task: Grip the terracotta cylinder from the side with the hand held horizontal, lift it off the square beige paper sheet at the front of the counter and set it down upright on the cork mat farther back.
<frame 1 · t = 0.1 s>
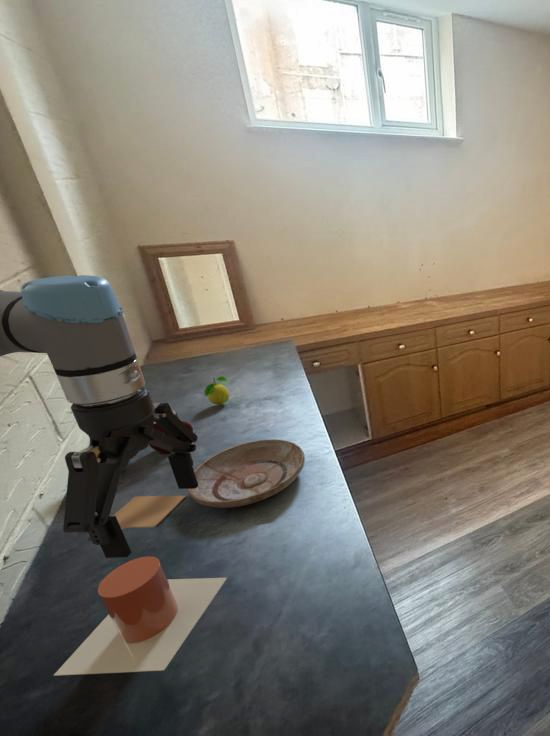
hand: (157, 517, 60), 19 cm above the worktop, tool pointing down, fingers open, 13 cm apart
light bulb: (118, 472, 98), on the worktop
beige paper sheet: (151, 624, 64), on the worktop
mug: (174, 448, 107), on the worktop
ceramic bowl: (253, 484, 95), on the worktop
cork mat: (141, 515, 85), on the worktop
terracotta cylinder: (150, 620, 64), point 1 cm above the worktop, touching beige paper sheet
lemon: (221, 405, 130), on the worktop
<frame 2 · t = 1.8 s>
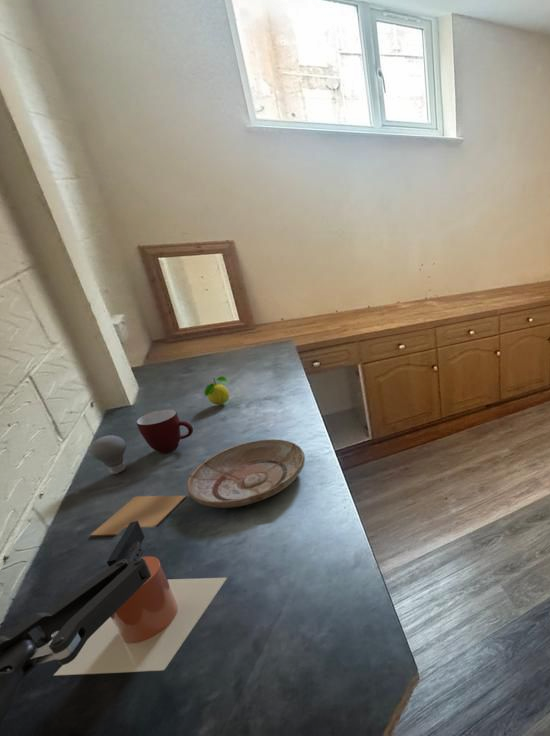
hand: (66, 547, 48), 24 cm above the worktop, tool horizontal, fingers open, 13 cm apart
nothing on the worktop moved.
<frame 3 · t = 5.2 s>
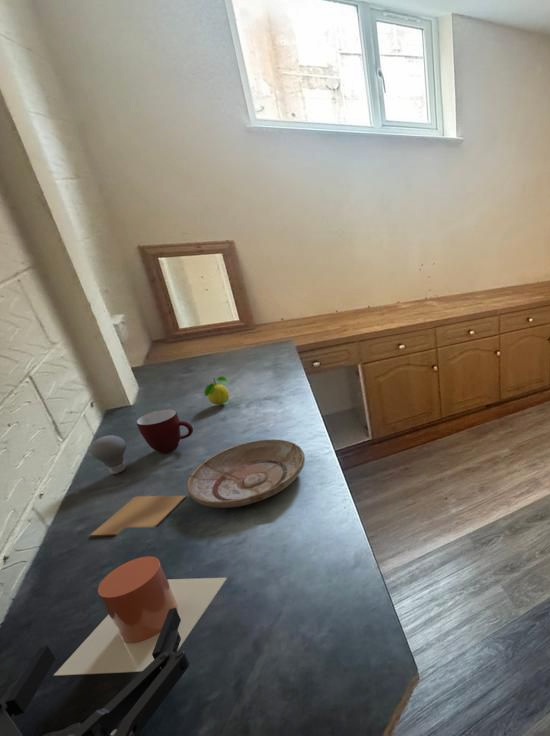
hand: (114, 632, 55), 8 cm above the worktop, tool horizontal, fingers open, 13 cm apart
nothing on the worktop moved.
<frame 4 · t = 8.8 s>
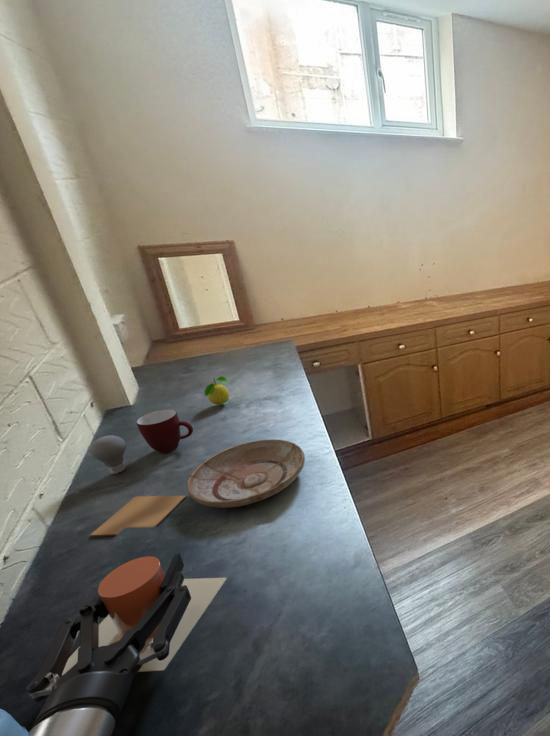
hand: (150, 567, 65), 7 cm above the worktop, tool horizontal, fingers closed on terracotta cylinder, 7 cm apart
terracotta cylinder: (150, 620, 64), point 1 cm above the worktop, touching gripper, beige paper sheet
everything else where it was.
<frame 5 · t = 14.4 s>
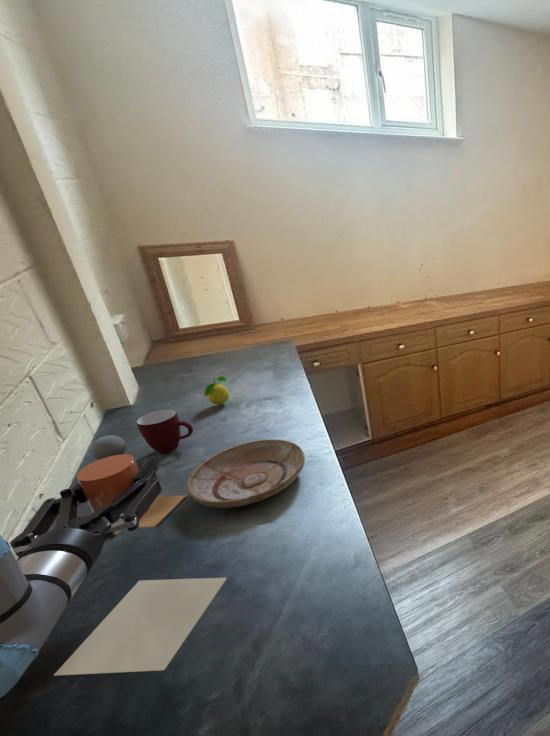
hand: (126, 467, 72), 18 cm above the worktop, tool horizontal, fingers closed on terracotta cylinder, 7 cm apart
terracotta cylinder: (125, 513, 70), point 12 cm above the worktop, touching gripper
everything else where it was.
when the fingers open (7 cm above the worktop, at t = 20.0 s): terracotta cylinder stays where it is, resting on cork mat.
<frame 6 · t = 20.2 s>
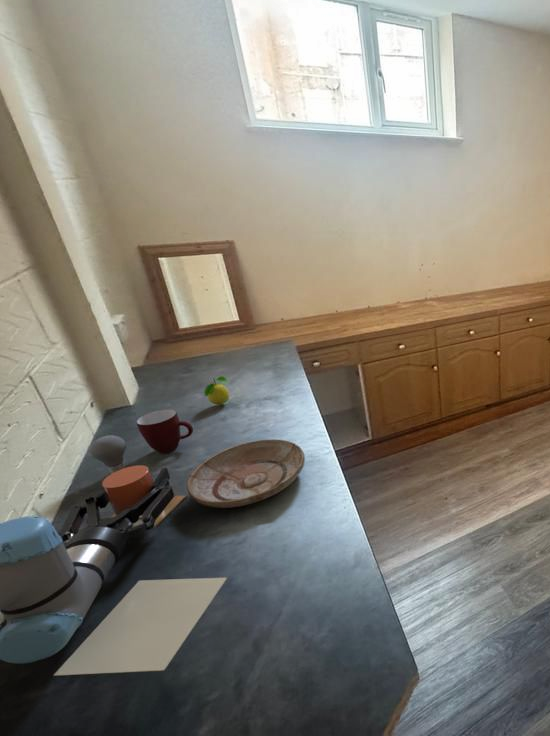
hand: (141, 477, 86), 6 cm above the worktop, tool horizontal, fingers open, 8 cm apart
terracotta cylinder: (141, 514, 85), resting on cork mat
everything else where it was.
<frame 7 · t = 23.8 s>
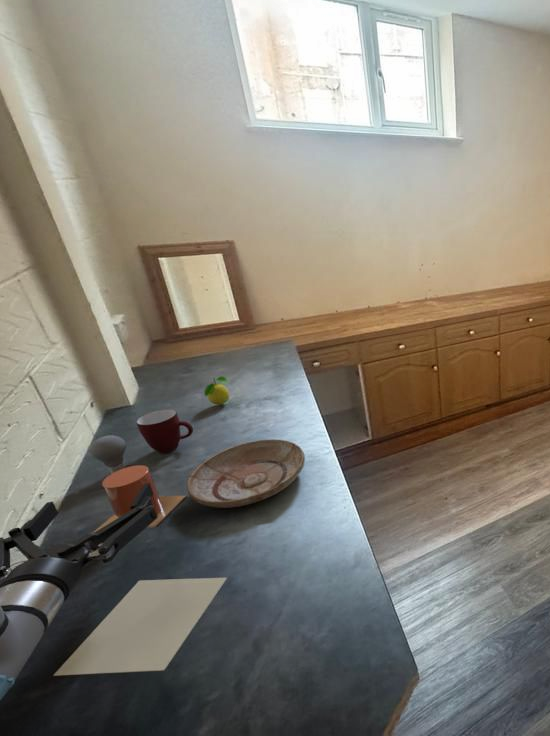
hand: (102, 497, 73), 12 cm above the worktop, tool horizontal, fingers open, 13 cm apart
nothing on the worktop moved.
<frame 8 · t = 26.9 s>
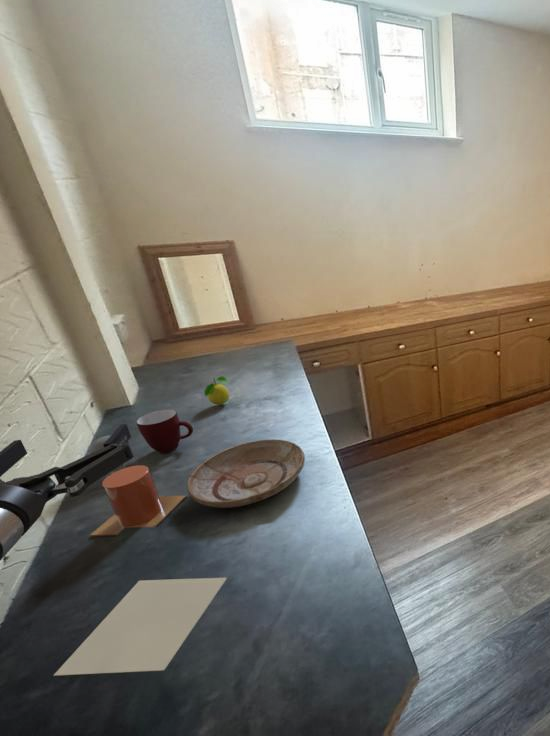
hand: (75, 438, 68), 25 cm above the worktop, tool horizontal, fingers open, 13 cm apart
nothing on the worktop moved.
at the end: terracotta cylinder inside the target area on the cork mat (0.1 cm from its centre), point 0.5 cm above the cork mat's base; terracotta cylinder touching cork mat; terracotta cylinder tilted 0° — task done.
